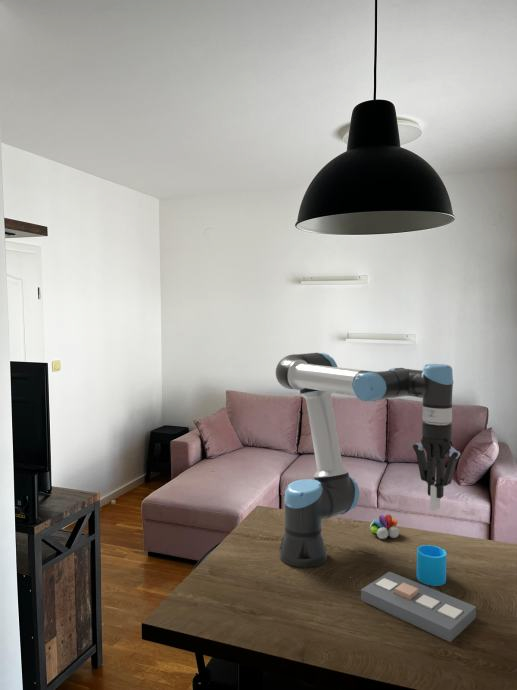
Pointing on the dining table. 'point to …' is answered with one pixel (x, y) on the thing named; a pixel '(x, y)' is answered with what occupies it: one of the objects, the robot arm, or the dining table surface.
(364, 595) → the keypad
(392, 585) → the key
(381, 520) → the multicoloured ball cluster
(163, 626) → the dining table surface
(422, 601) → the key
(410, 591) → the key
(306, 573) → the dining table surface
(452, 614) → the key
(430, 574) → the mug
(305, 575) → the dining table surface
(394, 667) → the dining table surface
